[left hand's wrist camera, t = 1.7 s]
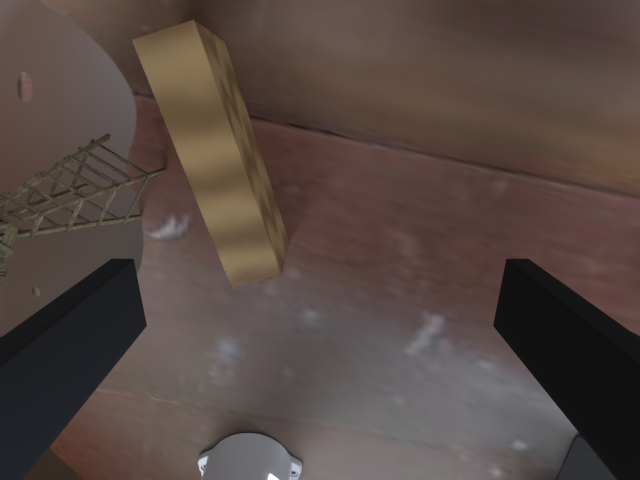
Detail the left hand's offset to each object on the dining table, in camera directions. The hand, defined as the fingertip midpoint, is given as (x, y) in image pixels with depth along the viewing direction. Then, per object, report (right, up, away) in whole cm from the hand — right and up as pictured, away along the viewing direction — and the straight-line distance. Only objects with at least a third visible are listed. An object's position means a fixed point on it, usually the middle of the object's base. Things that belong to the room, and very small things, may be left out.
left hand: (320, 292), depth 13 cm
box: (-11, +13, +33) cm, 37 cm away
